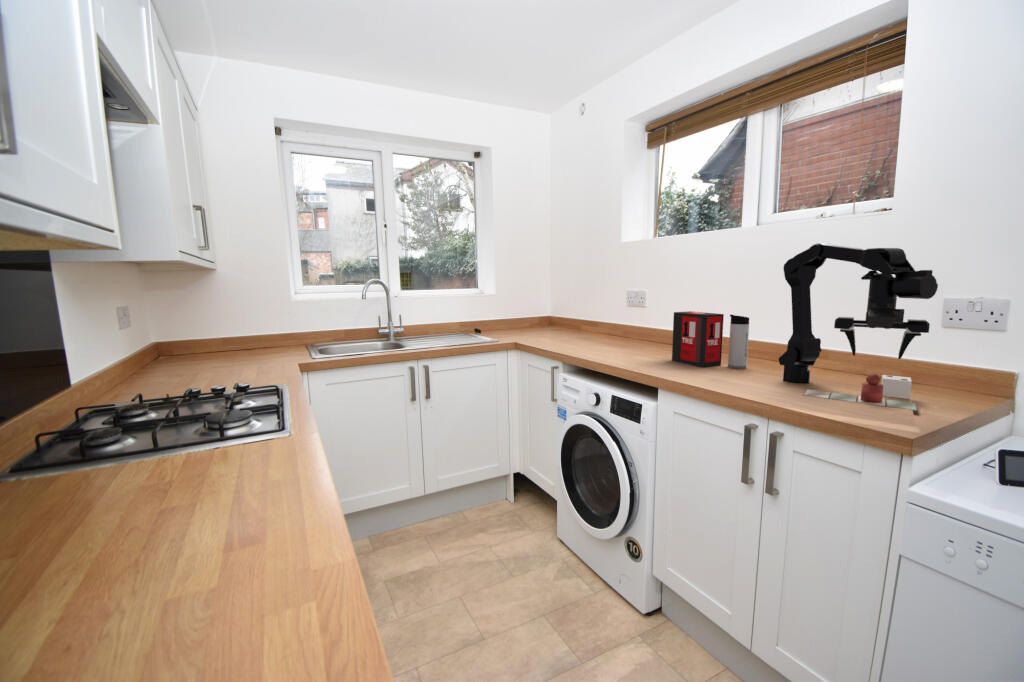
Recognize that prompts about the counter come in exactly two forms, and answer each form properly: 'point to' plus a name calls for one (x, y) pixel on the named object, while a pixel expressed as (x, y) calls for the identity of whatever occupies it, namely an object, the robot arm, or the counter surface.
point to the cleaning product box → (697, 338)
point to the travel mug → (738, 342)
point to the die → (896, 386)
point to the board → (858, 400)
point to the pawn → (872, 389)
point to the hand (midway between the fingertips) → (876, 357)
